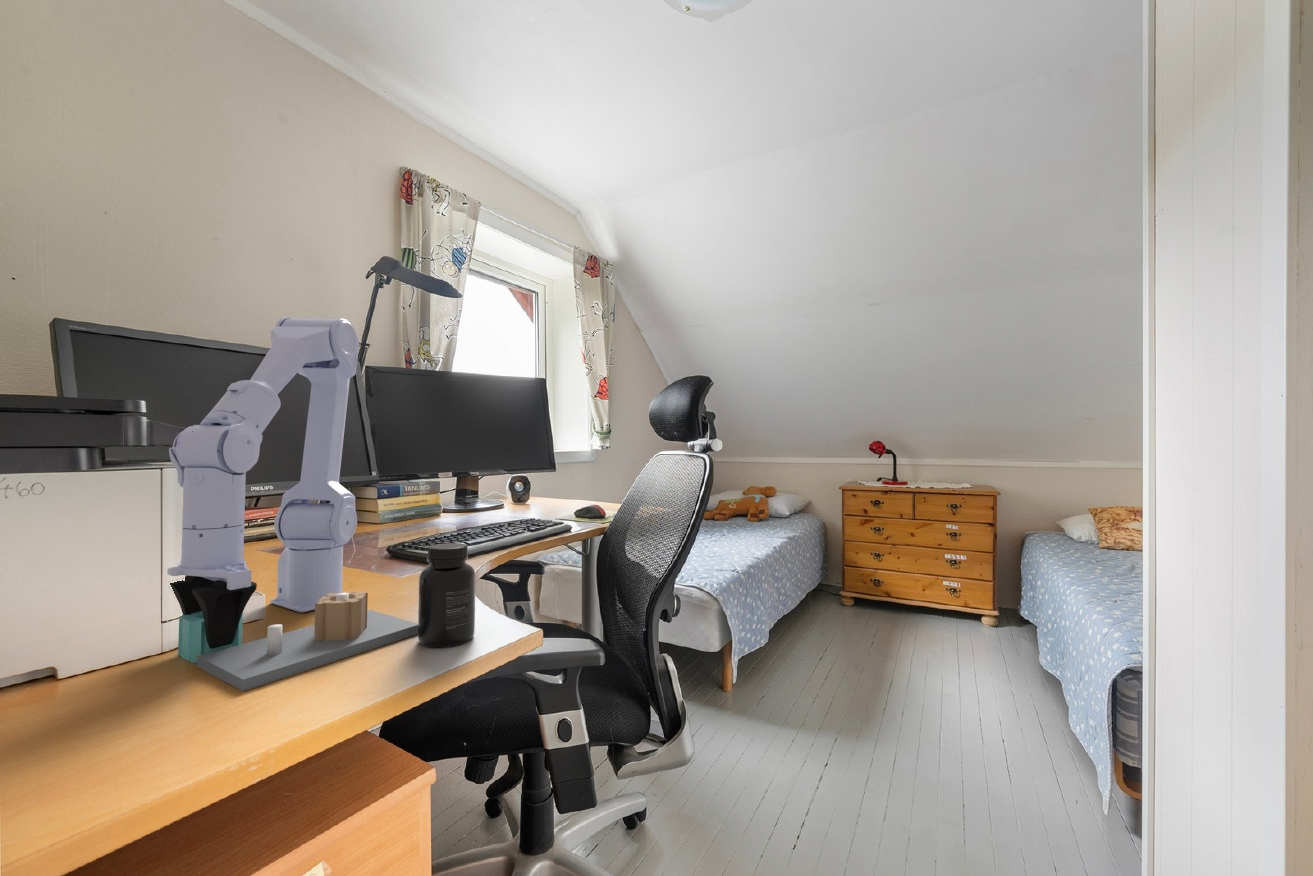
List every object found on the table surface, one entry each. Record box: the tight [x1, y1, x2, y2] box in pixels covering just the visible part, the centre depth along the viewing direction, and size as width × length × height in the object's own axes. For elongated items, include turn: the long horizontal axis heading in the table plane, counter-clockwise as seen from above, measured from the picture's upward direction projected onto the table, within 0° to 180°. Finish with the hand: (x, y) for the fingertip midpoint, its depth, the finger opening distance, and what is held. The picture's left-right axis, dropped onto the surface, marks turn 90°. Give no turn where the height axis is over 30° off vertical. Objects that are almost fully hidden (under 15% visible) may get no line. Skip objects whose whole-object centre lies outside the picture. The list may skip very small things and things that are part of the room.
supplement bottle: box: [417, 542, 476, 648], centre depth 69 cm, size 7×7×12 cm
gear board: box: [196, 591, 418, 692], centre depth 65 cm, size 11×20×6 cm, turn 149°
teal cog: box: [177, 611, 244, 664], centre depth 63 cm, size 5×5×4 cm
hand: (210, 640), depth 63 cm, fingers closed on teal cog, 5 cm apart
